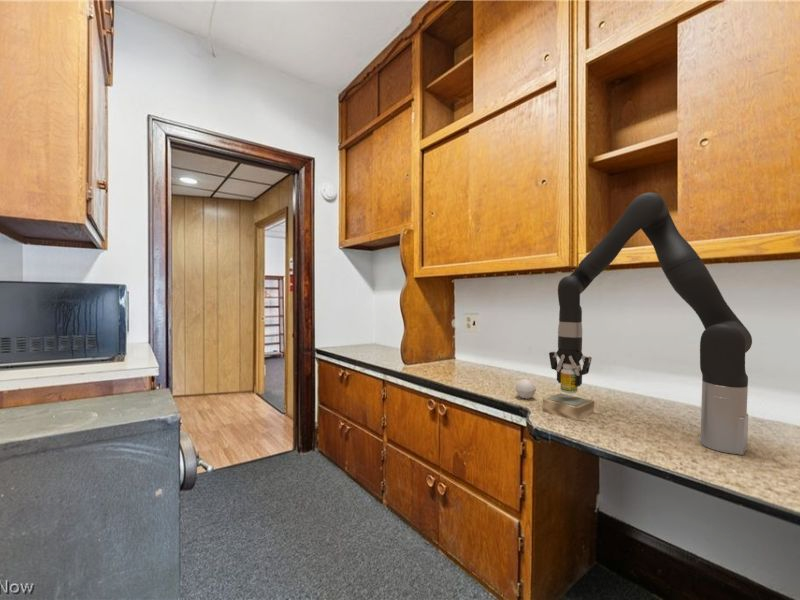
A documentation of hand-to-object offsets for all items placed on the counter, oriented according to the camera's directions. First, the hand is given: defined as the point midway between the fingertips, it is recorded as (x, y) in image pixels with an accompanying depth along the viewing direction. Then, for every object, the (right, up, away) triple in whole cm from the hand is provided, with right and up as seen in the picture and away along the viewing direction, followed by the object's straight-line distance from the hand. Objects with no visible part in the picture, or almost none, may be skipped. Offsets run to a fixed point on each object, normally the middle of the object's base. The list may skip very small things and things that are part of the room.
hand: (568, 384), depth 129 cm
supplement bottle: (0, -3, 0) cm, 3 cm away
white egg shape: (-9, -9, +17) cm, 21 cm away
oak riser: (0, -10, 0) cm, 10 cm away
